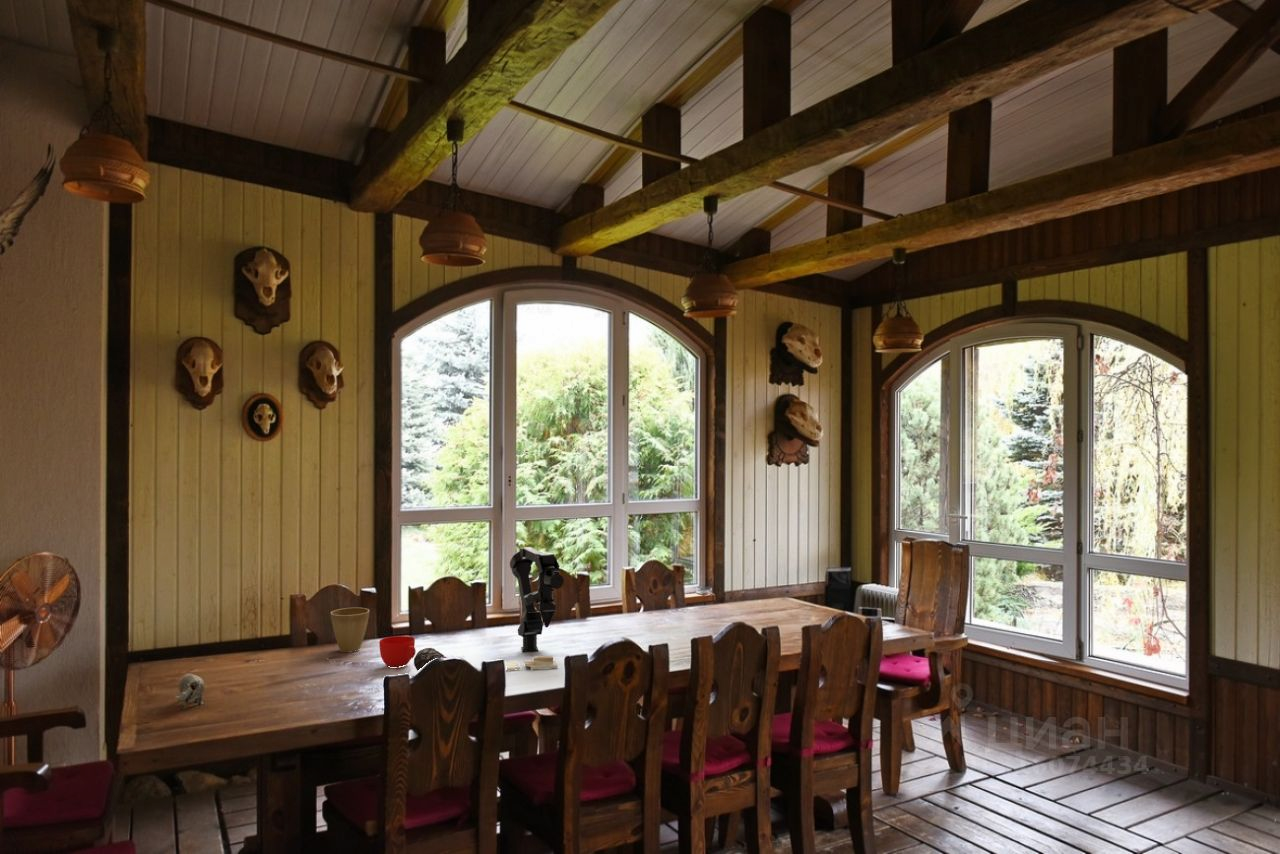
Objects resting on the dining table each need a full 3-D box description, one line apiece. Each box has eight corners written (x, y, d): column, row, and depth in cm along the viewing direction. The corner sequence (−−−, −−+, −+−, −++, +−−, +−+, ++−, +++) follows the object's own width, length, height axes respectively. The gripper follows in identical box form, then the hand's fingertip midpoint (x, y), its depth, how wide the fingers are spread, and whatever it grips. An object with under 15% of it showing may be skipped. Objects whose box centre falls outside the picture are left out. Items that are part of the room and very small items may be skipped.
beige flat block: (524, 662, 314) (524, 656, 314) (551, 661, 316) (552, 655, 316) (525, 666, 309) (525, 659, 309) (553, 664, 311) (553, 658, 311)
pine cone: (439, 684, 289) (439, 656, 289) (407, 676, 300) (408, 648, 300) (462, 678, 297) (462, 650, 297) (431, 669, 308) (431, 643, 308)
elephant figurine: (207, 686, 276) (202, 656, 268) (207, 720, 266) (203, 690, 258) (180, 691, 273) (175, 661, 265) (180, 726, 263) (174, 696, 255)
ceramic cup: (399, 674, 301) (400, 647, 301) (371, 667, 311) (372, 640, 312) (428, 667, 311) (428, 640, 312) (400, 660, 322) (400, 634, 322)
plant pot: (328, 648, 340) (329, 609, 340) (366, 644, 346) (367, 606, 346) (331, 656, 326) (332, 616, 327) (371, 652, 333) (371, 613, 333)
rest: (529, 665, 315) (529, 661, 315) (555, 663, 317) (555, 660, 317) (530, 669, 308) (530, 666, 308) (557, 668, 310) (557, 665, 310)
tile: (497, 663, 313) (501, 668, 306) (516, 661, 316) (520, 667, 308) (497, 667, 313) (501, 673, 306) (515, 665, 316) (520, 671, 308)
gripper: (523, 582, 334) (523, 620, 334) (527, 589, 316) (526, 630, 315) (551, 581, 336) (550, 619, 336) (556, 588, 318) (555, 629, 318)
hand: (545, 624), depth 326 cm, fingers open, 9 cm apart
